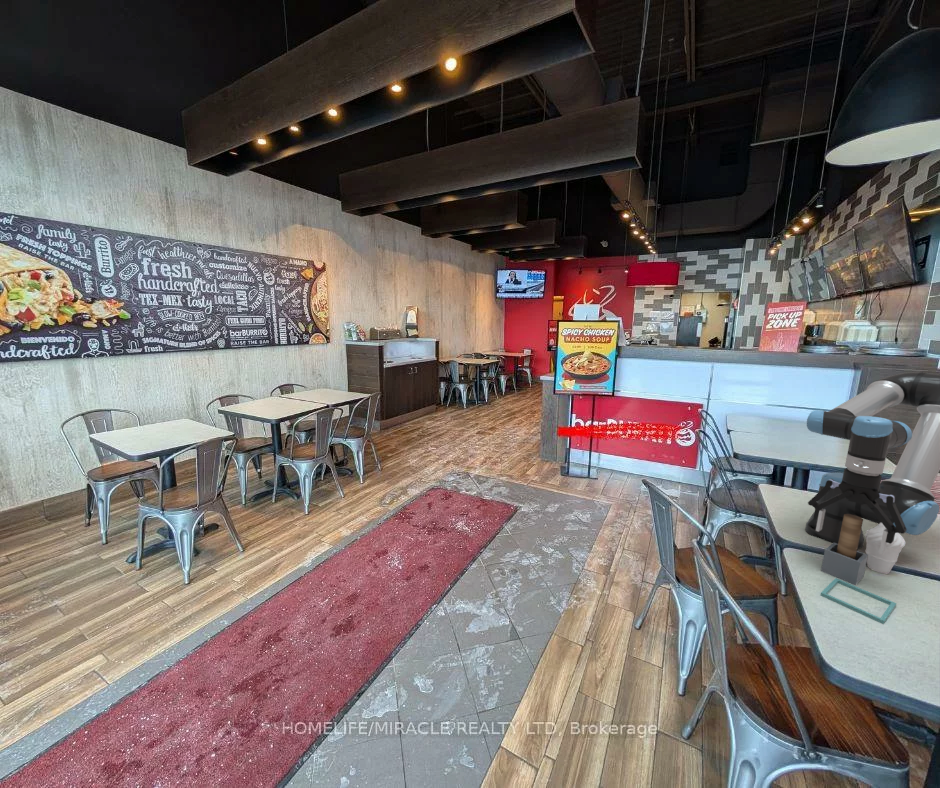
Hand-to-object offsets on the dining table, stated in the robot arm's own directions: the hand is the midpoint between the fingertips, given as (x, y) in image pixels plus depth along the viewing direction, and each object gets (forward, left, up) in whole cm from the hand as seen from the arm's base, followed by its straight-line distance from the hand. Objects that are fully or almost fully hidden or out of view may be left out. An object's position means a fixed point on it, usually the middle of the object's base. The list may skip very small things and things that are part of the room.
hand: (848, 540), depth 112 cm
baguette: (0, 0, -11) cm, 11 cm away
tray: (+12, +6, -12) cm, 18 cm away
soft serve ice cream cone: (-13, +5, -12) cm, 18 cm away
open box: (0, 0, -12) cm, 12 cm away
